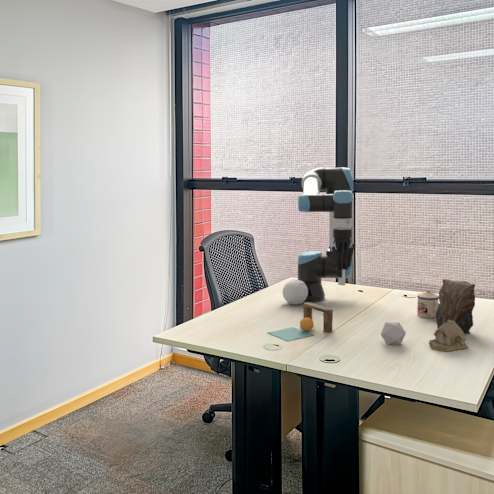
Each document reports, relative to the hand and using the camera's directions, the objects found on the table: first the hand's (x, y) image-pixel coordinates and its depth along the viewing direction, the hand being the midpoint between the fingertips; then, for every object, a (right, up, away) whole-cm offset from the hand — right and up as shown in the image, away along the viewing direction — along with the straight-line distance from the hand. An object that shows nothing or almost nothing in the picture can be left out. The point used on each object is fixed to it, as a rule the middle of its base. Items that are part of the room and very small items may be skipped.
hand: (341, 284), depth 233 cm
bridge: (-11, -17, -5) cm, 21 cm away
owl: (+41, -18, -11) cm, 46 cm away
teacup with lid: (+40, -15, +11) cm, 44 cm away
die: (+15, -20, -25) cm, 35 cm away
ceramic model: (+34, -21, -29) cm, 49 cm away
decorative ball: (-16, -12, +34) cm, 40 cm away
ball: (-15, -15, -9) cm, 23 cm away
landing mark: (-22, -19, -12) cm, 32 cm away
